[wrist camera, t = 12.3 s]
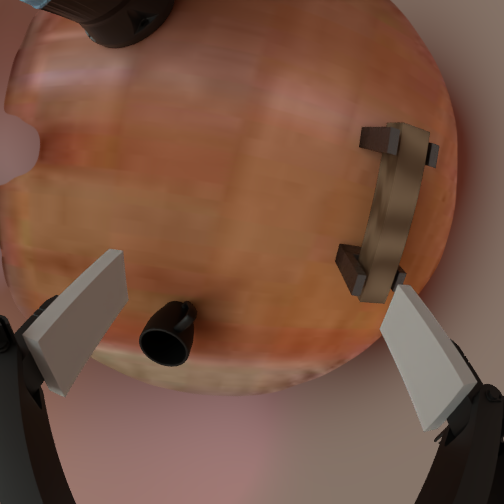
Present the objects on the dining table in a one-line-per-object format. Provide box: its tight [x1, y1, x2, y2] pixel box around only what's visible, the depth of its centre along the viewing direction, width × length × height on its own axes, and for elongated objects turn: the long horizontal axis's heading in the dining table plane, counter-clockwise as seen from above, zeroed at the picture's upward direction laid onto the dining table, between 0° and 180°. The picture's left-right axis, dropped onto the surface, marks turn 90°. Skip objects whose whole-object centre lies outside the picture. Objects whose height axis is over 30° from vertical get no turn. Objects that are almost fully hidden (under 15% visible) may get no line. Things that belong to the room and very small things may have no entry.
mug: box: [139, 301, 197, 367], centre depth 44 cm, size 8×12×10 cm
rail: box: [357, 123, 430, 304], centre depth 33 cm, size 24×4×5 cm, turn 173°
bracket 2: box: [335, 244, 406, 296], centre depth 38 cm, size 3×8×10 cm, turn 83°
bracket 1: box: [359, 127, 439, 168], centre depth 31 cm, size 3×8×10 cm, turn 83°
